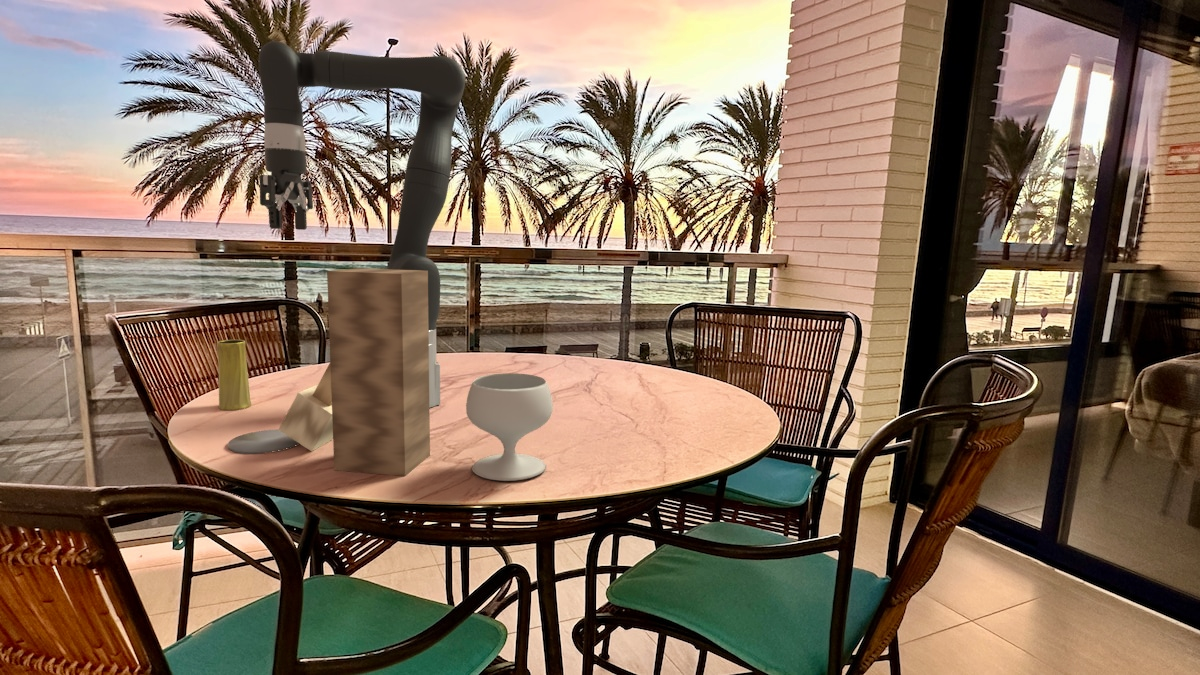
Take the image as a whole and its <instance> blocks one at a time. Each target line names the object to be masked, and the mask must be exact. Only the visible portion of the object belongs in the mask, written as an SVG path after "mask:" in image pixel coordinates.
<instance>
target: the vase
mask: <svg viewBox="0 0 1200 675" xmlns="http://www.w3.org/2000/svg"><path fill="white" fill-rule="evenodd" d="M216 352H217V362H218V363H217V364H218V371H217V372H218V409H219V410H220V411H221V410H222V411H237V410H238V411H240V410H245V409H247V408H250V407H251V406H252V402H251V401H252V400H251V393H250V385H249V384H250V381H249V374H248V372H249V371H248V363H247V349H246V340H244V339H224V340H218V341H217V342H216ZM244 408H245V409H244ZM239 409H240V410H239Z"/></svg>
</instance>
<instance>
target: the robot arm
mask: <svg viewBox="0 0 1200 675" xmlns="http://www.w3.org/2000/svg"><path fill="white" fill-rule="evenodd" d="M258 71H259V79H260V82H261V83H260V84H261V89H262V94H263V102H264V103H263V107H264V109H263V110H264V112H263V115H264V117H263V118H264V131H263V138H264V139H263V142H264V157H265V158H264V159H265V170H266V171H267V172H268V173H270V174H260V175H259V203H260V206H262V207H263V206H264V207H265V208H266V209H267V210H268V223H269V228H270V229H273V230H274V229H275V230H281V229H282V228H283V219H282V215H283V214H282V209H281V208H282V207H283V204H284V203H286V201H288V202H289V203H290V204H291V205H292V207H293V208H294V228H295V229H296V230H301V231H302V230H303V231H304V230H307V225H308V222H307V212H309V210H313V209H314V202H313V201H314V200H313V191H312V190H313V189H312V182H311V181H310V180H302V175H305V174H306V173H307V154H306V153H307V152H306V138H305V132H304V115H303V112H304V111H303V106H302V102H301V99H300V95H299V88H316V87H317V88H319V87H323V88H327V89H335V90H348V91H372V90H373V91H374V90H384V89H385V90H387V89H390V90H391V89H394V90H395V89H397V90H408V91H413V92H418V93H420V105H419V106H420V107H419V117H418V119H419V120H418V125H417V126H418V127H417V129H416V134H415V136H414V139H413V141H412V145H411V147H410V151H409V155H408V159H407V163H406V167H405V174H404V180H403V188H402V194H401V195H402V196H401V202H400V210H399V215H398V216H399V217H398V223H397V229H396V234H395V238H394V242H393V247H392V250H391V254H390V257H389V261H388V265H387V268H386V269H394V270H420V271H428V327H429V409H430V408H433V407H435V406H440V405H441V364H440V362H438V361H437V320H438V318H439V315H440V310H441V309H440V307H441V306H440V305H441V276H440V272H439V271H440V270H439V268H438V265H437V264H436V263H435V262H434V261H433V260H432V259H430V258H428V257H427V252H428V245H429V240H430V236H431V232H432V231H433V228H434V226H435V224H436V222H437V220H438V218H439V216H440V214H441V212H442V211H443V207H444V205H445V203H446V201H447V196H448V190H449V184H450V178H451V169H452V139H453V138H452V136H453V130H454V126H455V125H454V124H455V121H456V117H457V114H458V111H459V106H460V103H461V100H462V98H463V94H464V91H465V87H466V75H465V71H464V69H463V67H462V66H461V65H460V64H459V63H458V62H457V61H456V60H455V59H453V58H451V57H448V56H442V55H440V56H439V55H438V56H437V55H436V56H415V57H412V56H411V57H409V56H408V57H400V56H399V57H398V56H394V57H391V56H388V57H387V56H375V55H373V56H372V55H363V54H354V53H348V52H339V51H330V50H318V51H315V52H314V53H311V52H309V53H308V52H298V51H294V50H293V49H292V48H291V47H290V46H289V45H288V44H285V43H284V42H282V41H275V40H273V41H269V42H267V43H265V44H264V45H263V46H262V47H261V49H260V50H259V54H258ZM267 194H268V195H267ZM306 201H307V202H306Z"/></svg>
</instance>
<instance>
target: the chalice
mask: <svg viewBox="0 0 1200 675" xmlns="http://www.w3.org/2000/svg"><path fill="white" fill-rule="evenodd" d="M465 404H466V405H465V407H466V410H465V411H466V416H467V418H468V419H469V421H470V422H471V423H472V425H473V426H475V427H477V428H478V429H480V430H481V431H484V432H486V433H488V434H491V435H492V436H494V437H496V438H497V439H498V440H499V441H500V443H501V444H502V446H503V452H502V453H500V454H494V455H489V456H486V457H483V458H481V459H478V460H477V461H475V462H474V463H473V465H472V467H471V470H472V472H473V473H474V474H475V475H477V476H478V477H480V478H483V479H486V480H492V481H501V482H502V481H504V482H509V481H510V482H511V481H512V482H513V481H522V480H523V481H524V480H527V479H532V478H535V477H538V476H539V475H541V474H542V473H544V472H545V471H546V470H547V464H546V463H545V462H544V460H542V459H541V458H538V457H536V456H533V455H529V454H521V453H516V447H517V444H518V442H519V441H520V440H521V439H522V438H523V437H525V436H526V435H528V434H530V433H532V432H534V431H536V430H538V429H541V427H543V426H544V425H545V424H547V422H548V421H550V419H551V416H552V414H553V409H554V408H553V407H554V403H553V396H552V392H551V388H550V386H549V385H548V382H547V381H546V379H545V378H543V377H541V376H538V375H535V374H528V373H516V372H515V373H514V372H513V373H512V372H511V373H506V372H505V373H493V374H487V375H482V376H479V377H477V378H475V379H474V380H473V381H472V384H471V385H470V388H469V390H468V394H467V396H466V403H465Z"/></svg>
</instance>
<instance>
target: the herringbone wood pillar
mask: <svg viewBox="0 0 1200 675" xmlns="http://www.w3.org/2000/svg"><path fill="white" fill-rule="evenodd" d="M326 276H327V277H326V279H327V281H326V282H327V283H326V284H327V285H326V286H327V305H328V306H327V308H328V332H329V334H328V335H329V357H330V358H329V364H330V366H331V394H332V421H333V440H332V445H333V468H334V469H333V470H334V471H337V472H338V471H339V472H349V473H350V472H352V473H353V472H354V473H361V474H362V473H364V474H374V475H375V474H377V475H378V474H379V475H387V476H388V475H389V476H400V477H402V476H403V477H406V476H408V474H410V473H411V472H412V471H413V470H414V469H415V468H417V467H418V466H419V465H420V464H421V463H422V462H424V461H425V460H426V459H427V458H428V457H429V456H431V436H430V435H431V434H430V433H431V429H430V428H431V427H430V426H431V425H430V423H431V422H430V418H431V417H430V414H431V413H430V408H429V327H428V271H420V270H394V269H387V268H365V267H363V268H362V267H358V268H357V267H356V268H348V269H347V268H346V269H335V270H327V271H326Z"/></svg>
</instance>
